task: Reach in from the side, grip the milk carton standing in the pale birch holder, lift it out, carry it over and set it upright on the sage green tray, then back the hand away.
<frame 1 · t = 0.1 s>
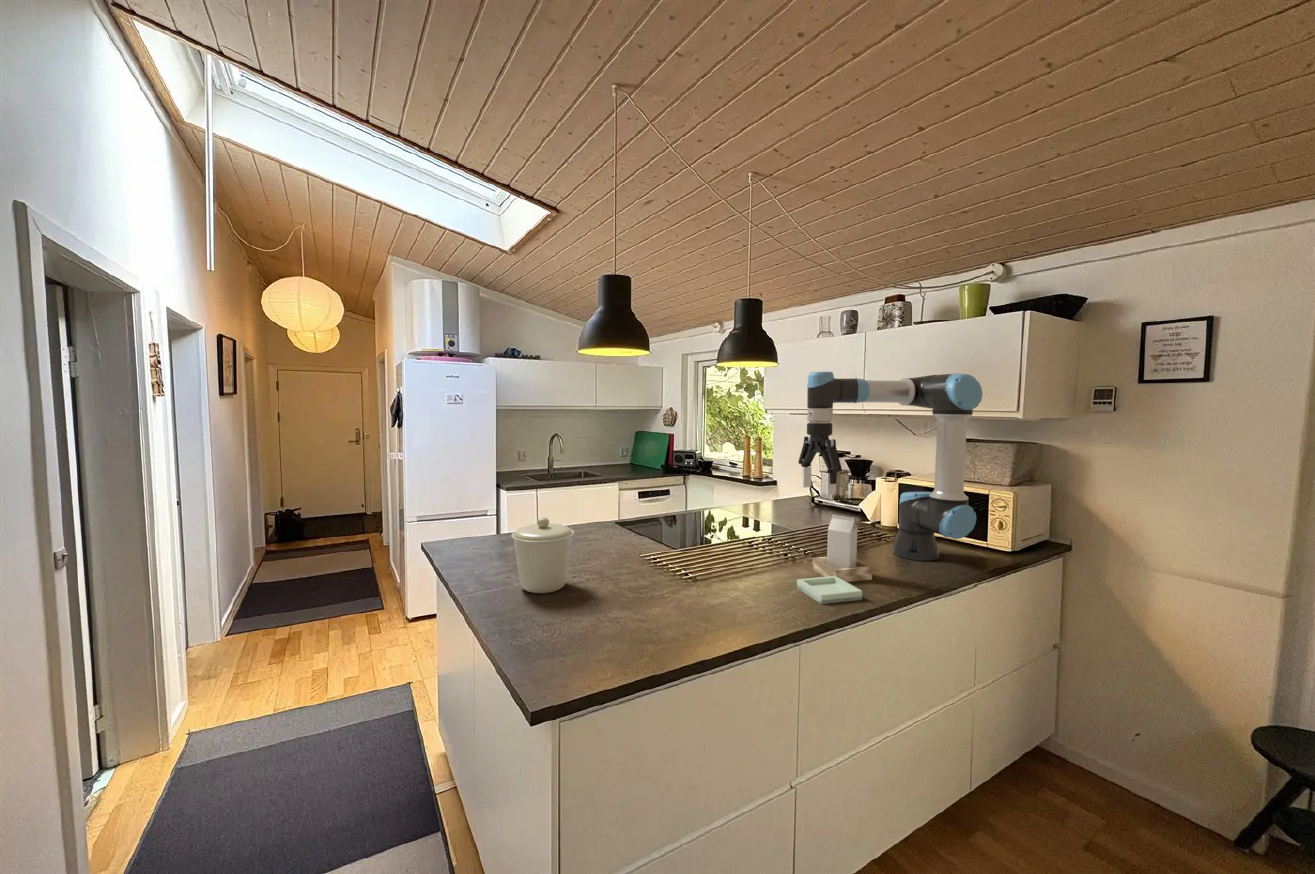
hand: (818, 490, 164), 28 cm above the table, tool pointing down, fingers open, 13 cm apart
tray: (828, 593, 153), on the table
canister: (543, 588, 157), on the table
milk carton: (841, 575, 170), resting in holder
holder: (841, 574, 170), on the table
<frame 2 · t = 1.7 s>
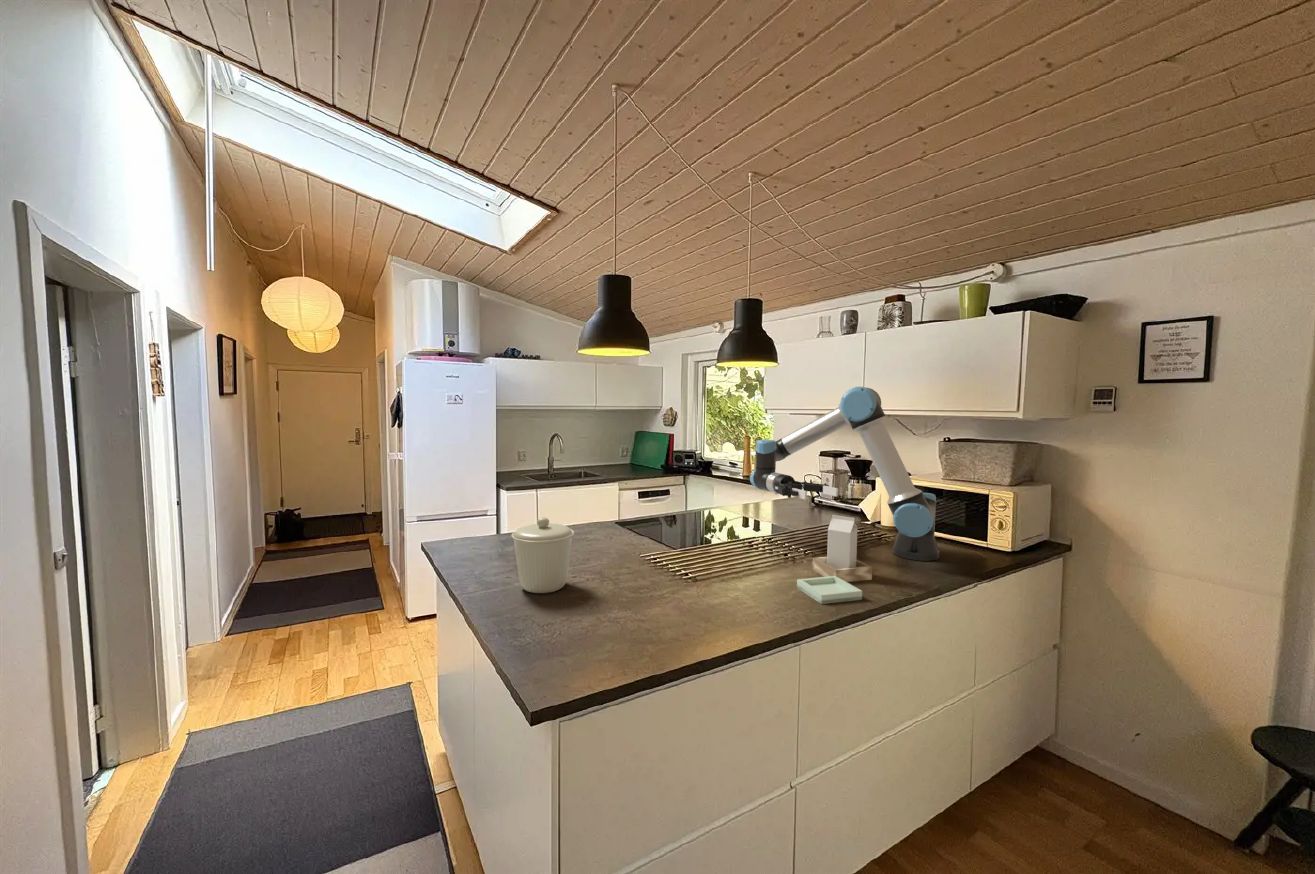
hand: (822, 493, 177), 25 cm above the table, tool horizontal, fingers open, 13 cm apart
nothing on the table moved.
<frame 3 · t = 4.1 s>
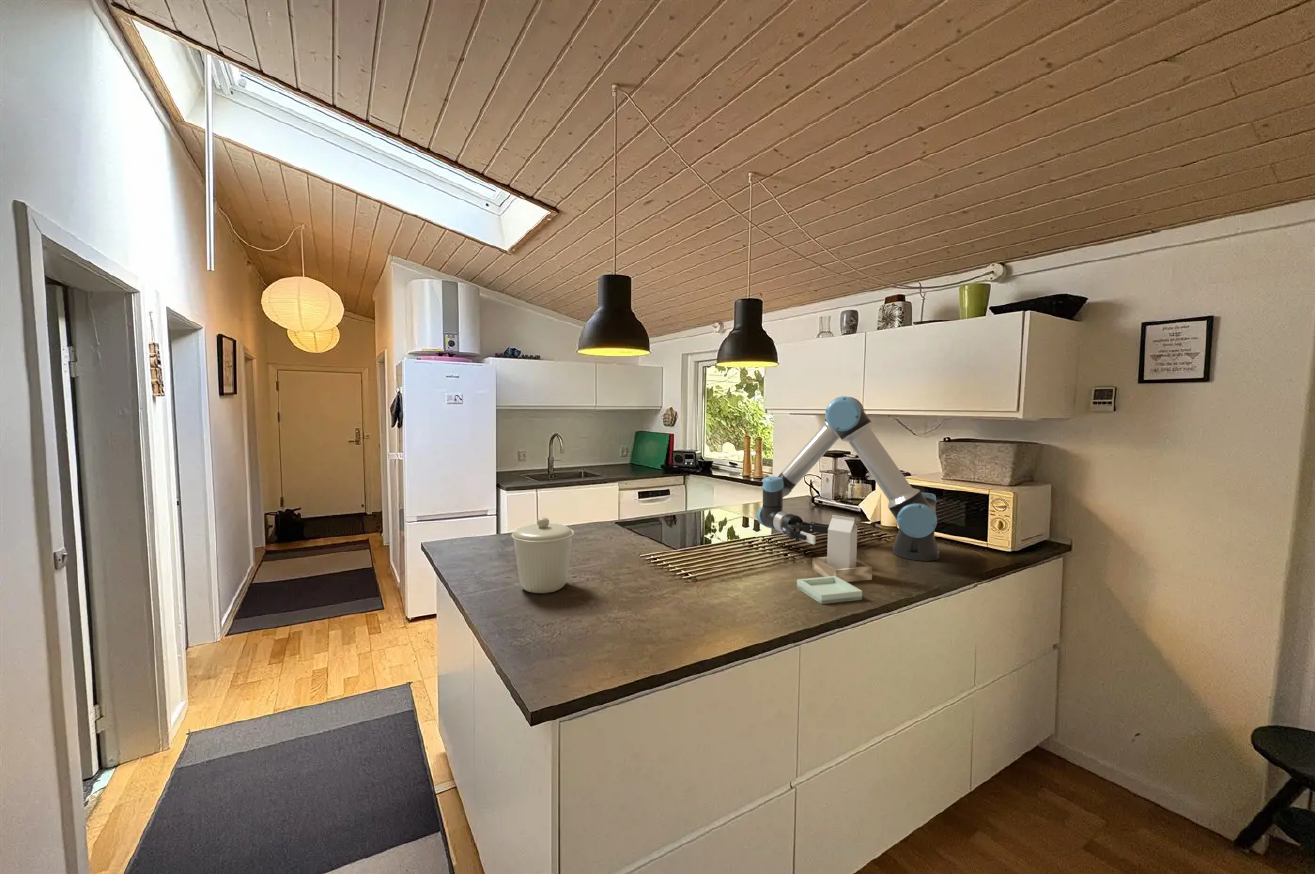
hand: (830, 537, 173), 11 cm above the table, tool horizontal, fingers open, 13 cm apart
nothing on the table moved.
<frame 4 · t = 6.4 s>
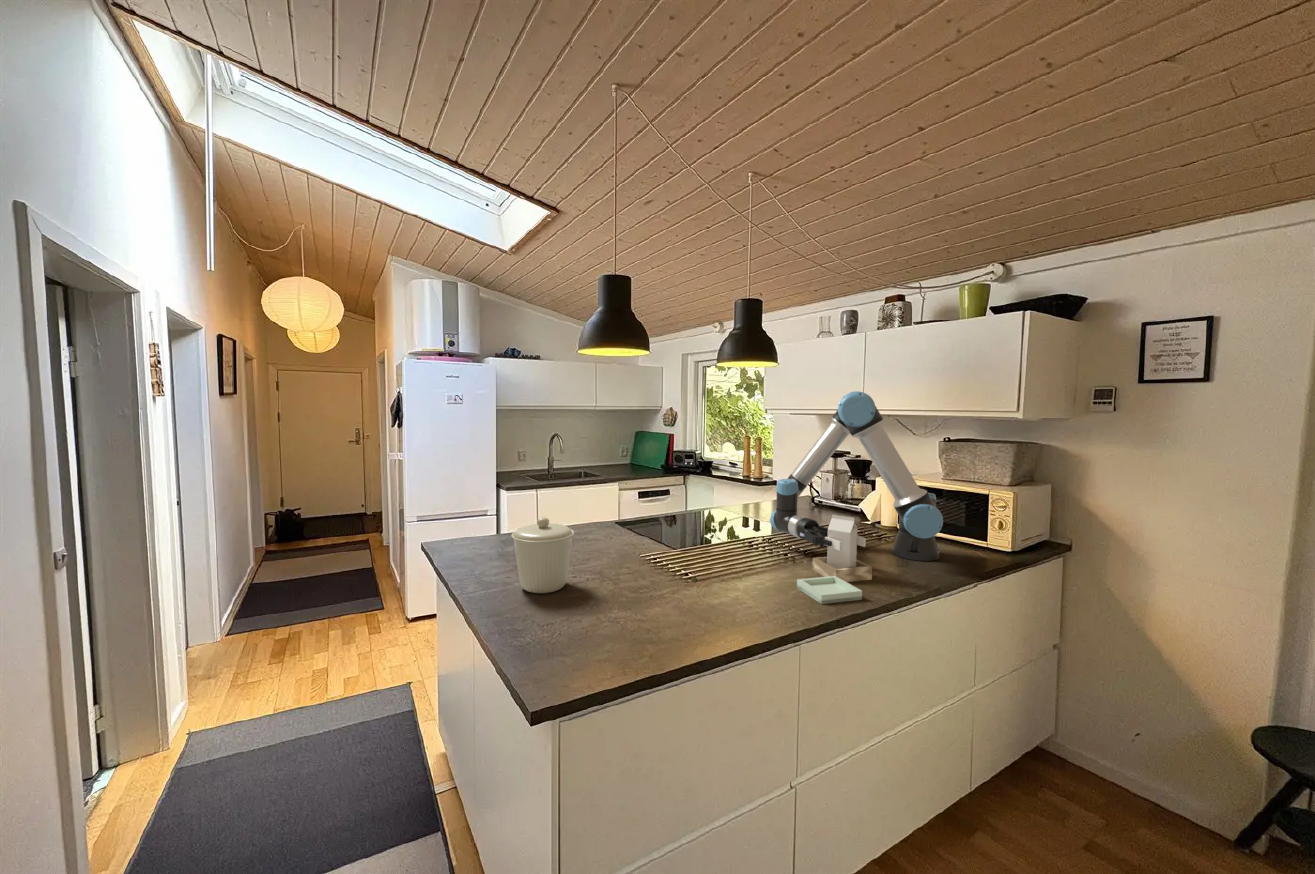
hand: (852, 544, 165), 11 cm above the table, tool horizontal, fingers closed on milk carton, 9 cm apart
milk carton: (841, 575, 170), resting in holder, touching gripper
everything else where it was.
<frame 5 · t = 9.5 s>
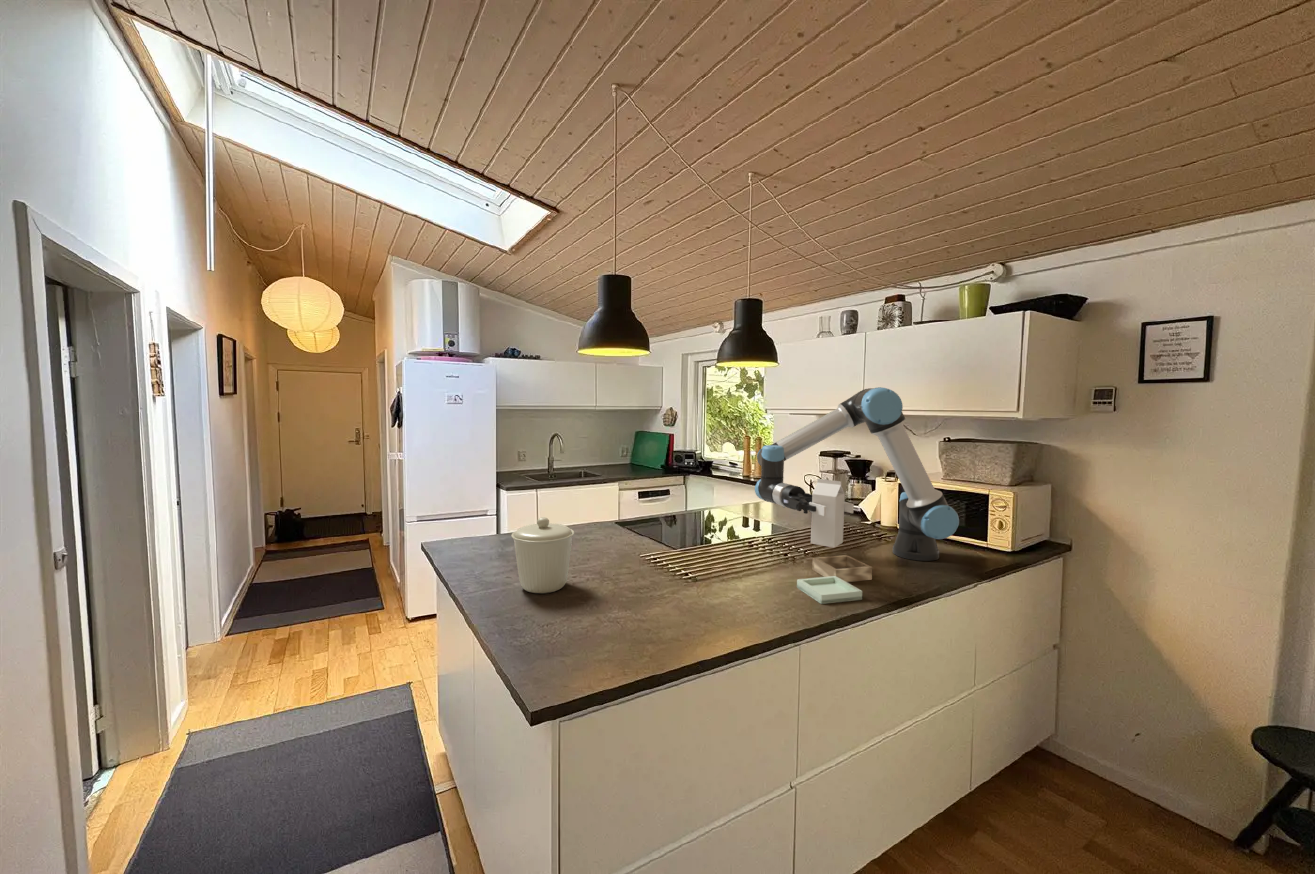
hand: (839, 509, 152), 24 cm above the table, tool horizontal, fingers closed on milk carton, 9 cm apart
milk carton: (826, 544, 157), point 13 cm above the table, touching gripper
everything else where it was.
when the fingers open (13 cm above the table, at t = 12.7 s): milk carton drops 1 cm, resting on tray.
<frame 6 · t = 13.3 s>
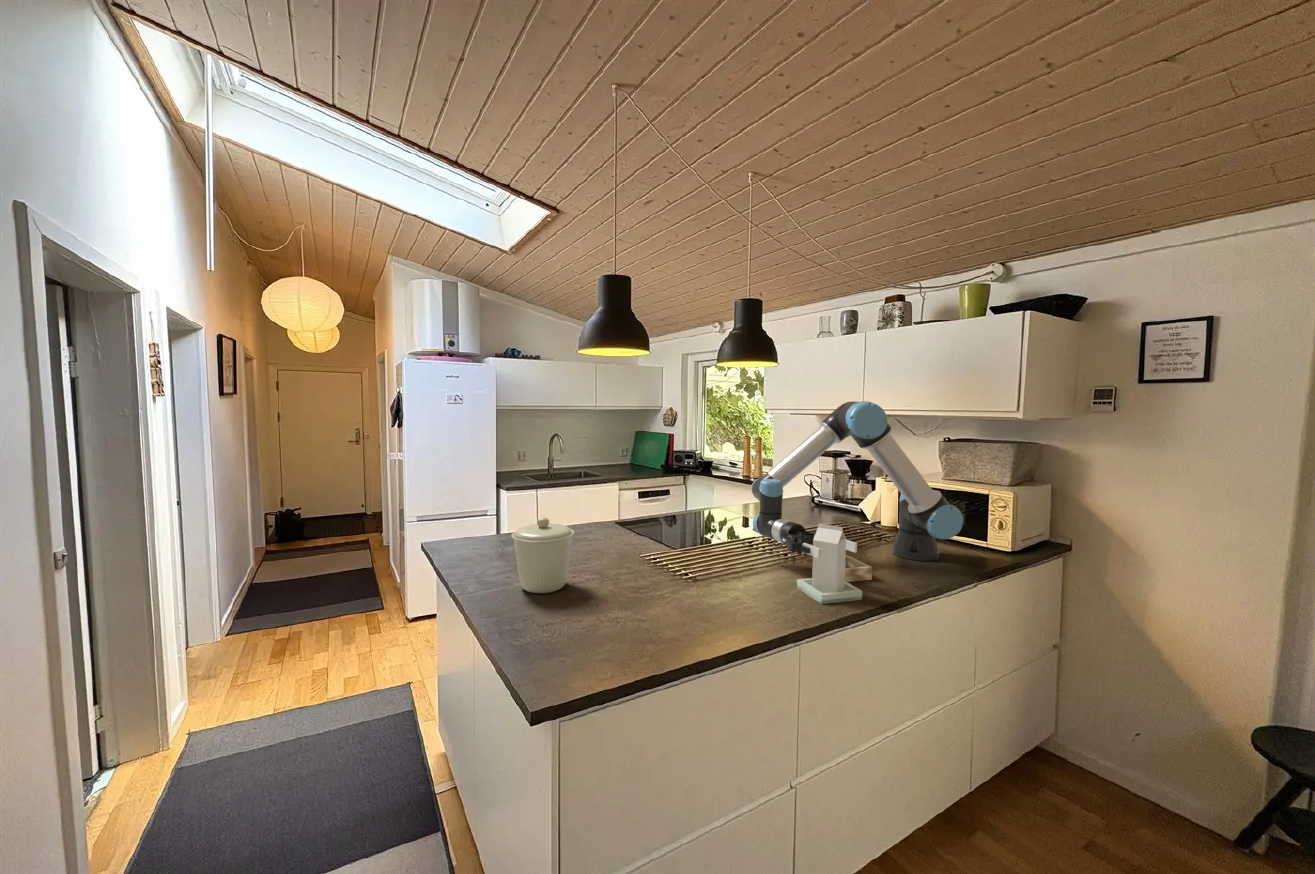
hand: (838, 550, 149), 13 cm above the table, tool horizontal, fingers open, 13 cm apart
milk carton: (828, 590, 153), point 1 cm above the table, touching tray
everything else where it was.
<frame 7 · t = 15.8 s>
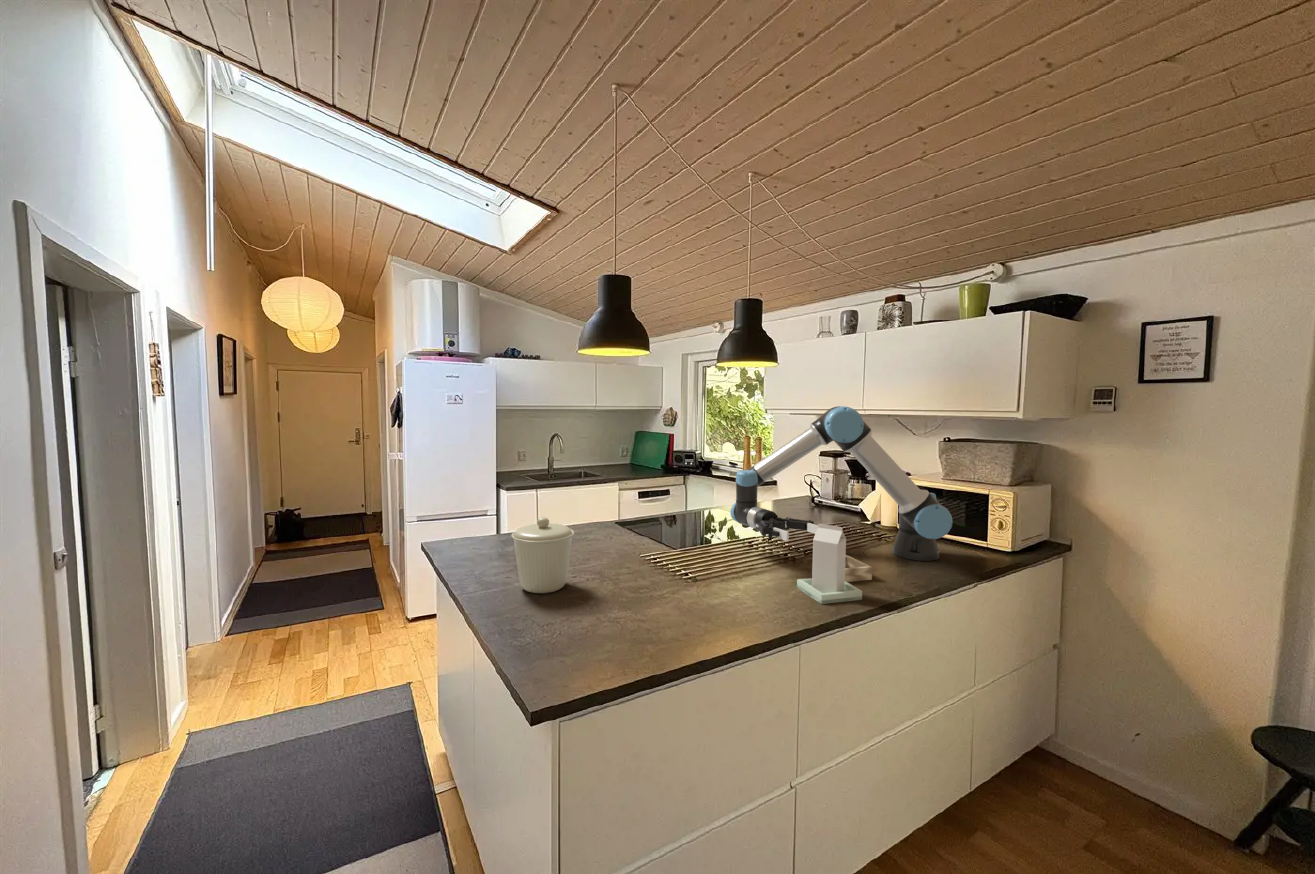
hand: (805, 534, 161), 15 cm above the table, tool horizontal, fingers open, 13 cm apart
nothing on the table moved.
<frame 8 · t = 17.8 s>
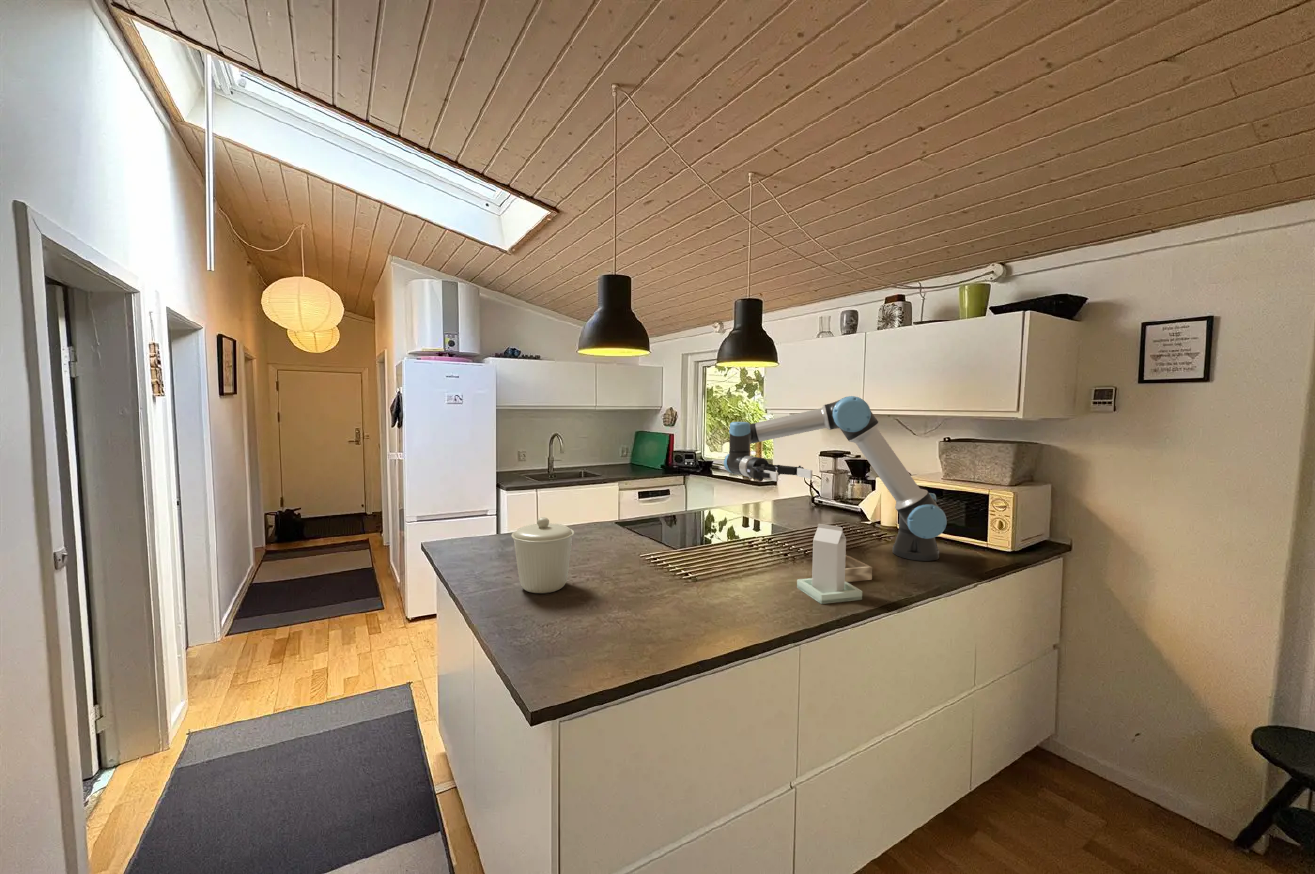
hand: (794, 475, 167), 32 cm above the table, tool horizontal, fingers open, 13 cm apart
nothing on the table moved.
at the end: milk carton inside the target area on the tray (0.1 cm from its centre), point 0.8 cm above the tray's base; milk carton tilted 0°; the gripper is holding nothing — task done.
